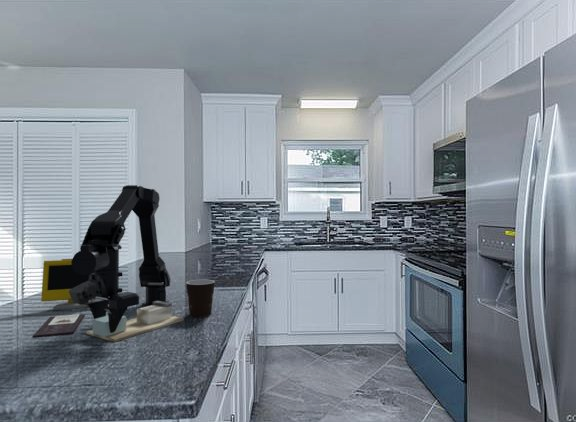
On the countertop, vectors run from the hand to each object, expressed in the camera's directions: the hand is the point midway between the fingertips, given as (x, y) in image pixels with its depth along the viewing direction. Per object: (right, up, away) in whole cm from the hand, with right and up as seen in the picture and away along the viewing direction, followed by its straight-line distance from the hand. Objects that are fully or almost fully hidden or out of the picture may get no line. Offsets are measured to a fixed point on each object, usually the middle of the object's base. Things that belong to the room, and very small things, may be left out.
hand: (106, 330), depth 96 cm
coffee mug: (+19, -2, +22) cm, 29 cm away
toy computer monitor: (-24, -2, +31) cm, 39 cm away
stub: (+1, -1, +1) cm, 2 cm away
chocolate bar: (-16, -2, +9) cm, 19 cm away
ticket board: (+5, -1, +8) cm, 9 cm away
